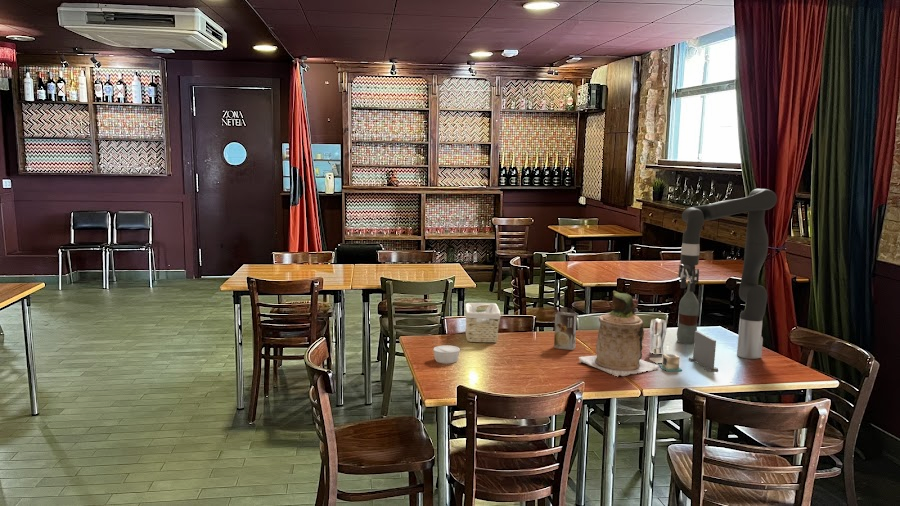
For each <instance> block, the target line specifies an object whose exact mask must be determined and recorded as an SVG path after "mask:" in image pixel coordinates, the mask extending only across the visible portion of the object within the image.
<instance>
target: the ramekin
mask: <svg viewBox="0 0 900 506" xmlns="http://www.w3.org/2000/svg"><path fill="white" fill-rule="evenodd" d="M432 352H433V355H434V359H435V361H436V362H437V363H440V364H445V365H446V364H448V365H449V364H450V365H451V364H455V363H457V362H458V360H459V356H460V352H461V349H460V348H459V347H458V346H455V345H450V344H449V345H447V344H446V345H445V344H443V345H438V346H434V347H433V349H432Z"/></svg>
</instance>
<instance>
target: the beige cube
mask: <svg viewBox="0 0 900 506" xmlns="http://www.w3.org/2000/svg"><path fill="white" fill-rule="evenodd" d="M662 358H663V361H662V364H661V365H662V366H664V367H665V368H666V369H679V368H680V356H678V355H676V353H664V354H662Z"/></svg>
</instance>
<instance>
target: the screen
mask: <svg viewBox="0 0 900 506" xmlns="http://www.w3.org/2000/svg"><path fill="white" fill-rule="evenodd" d="M716 348H717V340H715V339H714V338H712V337H710V336H709V335H706V334H705V333H703V332H701V331H699V330H697V331H695V338H694V344H693V353H692V357H688V360H689V361H690V360H691V361H690V362H695V363H697V362H698V363H697V364H699V365H700V364H701V365H700V366H701V367H704V368H703V369H704V371H706V372H719V368H718V367H715V360H716Z"/></svg>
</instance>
